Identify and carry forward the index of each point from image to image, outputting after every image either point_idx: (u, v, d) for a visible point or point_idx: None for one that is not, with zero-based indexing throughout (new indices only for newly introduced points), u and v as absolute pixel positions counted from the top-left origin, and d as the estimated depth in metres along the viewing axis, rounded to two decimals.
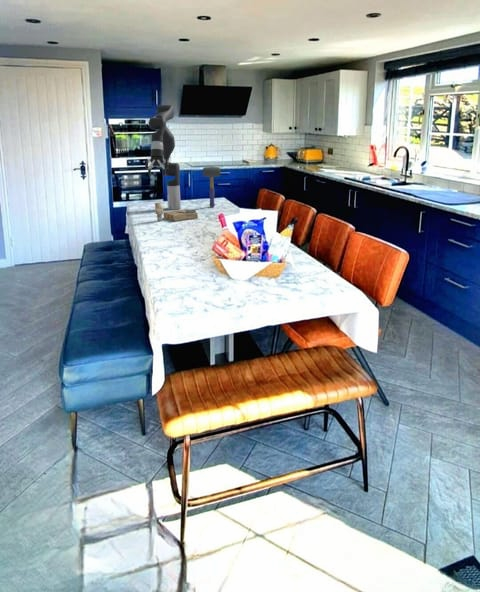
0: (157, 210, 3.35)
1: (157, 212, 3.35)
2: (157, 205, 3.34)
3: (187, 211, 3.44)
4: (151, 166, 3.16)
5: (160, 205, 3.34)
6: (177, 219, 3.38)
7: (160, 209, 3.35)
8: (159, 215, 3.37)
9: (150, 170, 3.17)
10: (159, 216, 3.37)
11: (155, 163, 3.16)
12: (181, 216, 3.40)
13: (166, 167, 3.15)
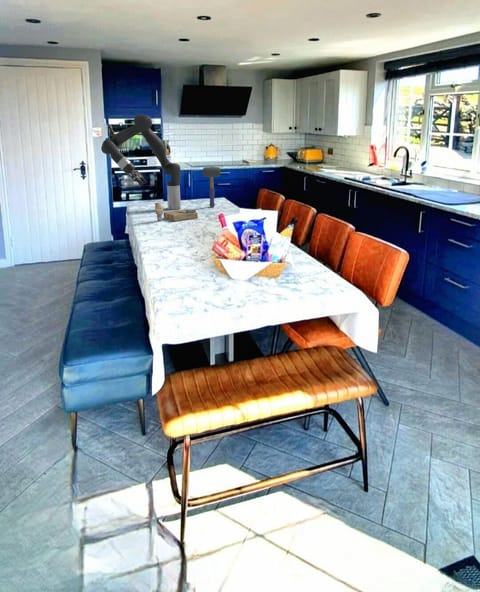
0: (157, 210, 3.35)
1: (157, 212, 3.35)
2: (157, 205, 3.34)
3: (187, 211, 3.44)
4: (138, 178, 3.35)
5: (160, 205, 3.34)
6: (177, 219, 3.38)
7: (160, 209, 3.35)
8: (159, 215, 3.37)
9: (142, 179, 3.36)
10: (159, 216, 3.37)
11: None
12: (181, 216, 3.40)
13: None
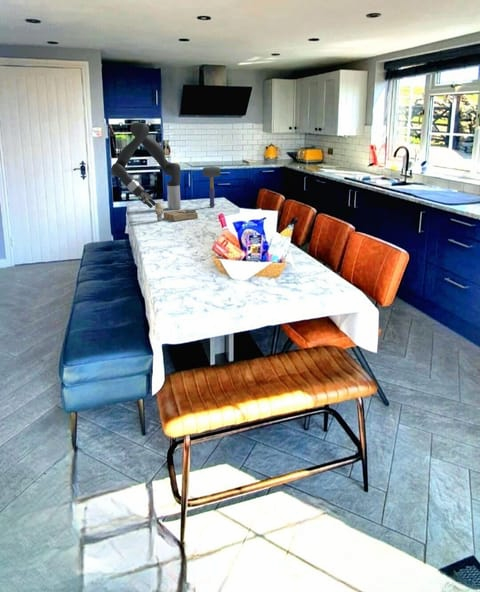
0: (157, 210, 3.35)
1: (157, 212, 3.35)
2: (157, 205, 3.34)
3: (187, 211, 3.44)
4: (147, 200, 3.39)
5: (160, 205, 3.34)
6: (177, 219, 3.38)
7: (160, 209, 3.35)
8: (159, 215, 3.37)
9: (151, 201, 3.40)
10: (159, 216, 3.37)
11: None
12: (181, 216, 3.40)
13: (144, 203, 3.30)
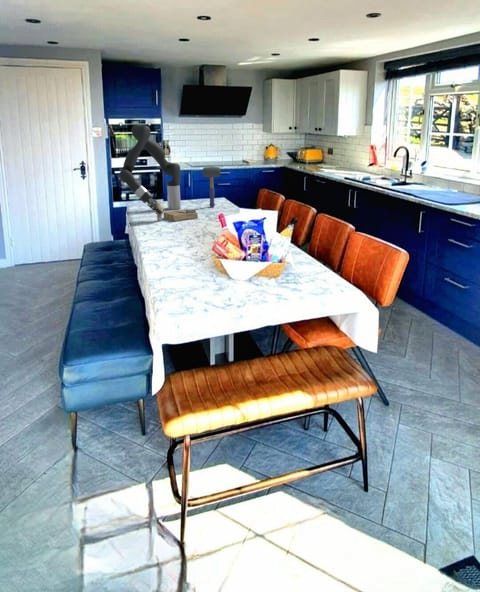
0: None
1: (157, 212, 3.35)
2: (157, 205, 3.34)
3: (187, 211, 3.44)
4: None
5: (160, 205, 3.34)
6: (177, 219, 3.38)
7: (160, 209, 3.35)
8: (159, 215, 3.37)
9: None
10: (159, 216, 3.37)
11: None
12: (181, 216, 3.40)
13: None
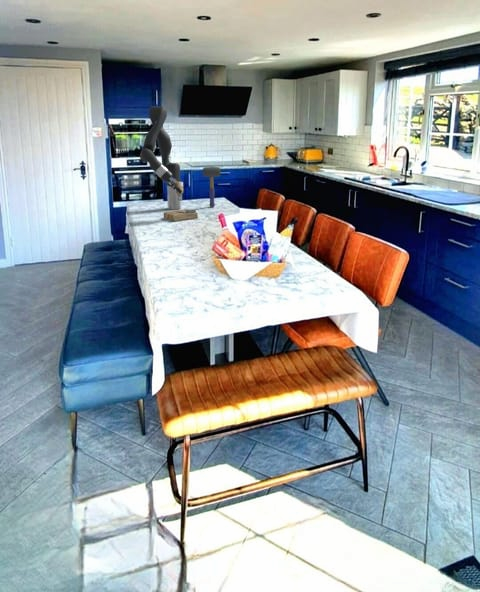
0: None
1: (177, 191, 3.40)
2: (178, 184, 3.38)
3: (187, 211, 3.44)
4: None
5: (180, 184, 3.38)
6: (177, 219, 3.38)
7: (180, 188, 3.39)
8: (179, 194, 3.41)
9: None
10: (179, 195, 3.42)
11: None
12: (181, 216, 3.40)
13: (174, 189, 3.37)
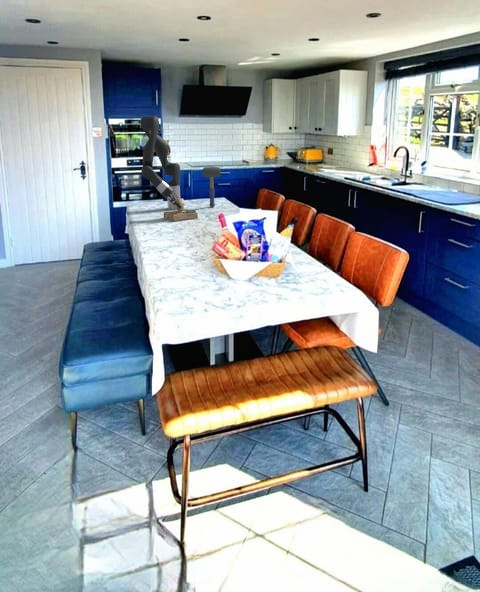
0: None
1: (178, 208, 3.44)
2: (178, 201, 3.42)
3: (187, 211, 3.44)
4: None
5: (181, 201, 3.42)
6: (177, 219, 3.38)
7: (181, 205, 3.43)
8: (180, 211, 3.45)
9: None
10: (180, 212, 3.46)
11: None
12: (181, 216, 3.40)
13: (173, 204, 3.39)
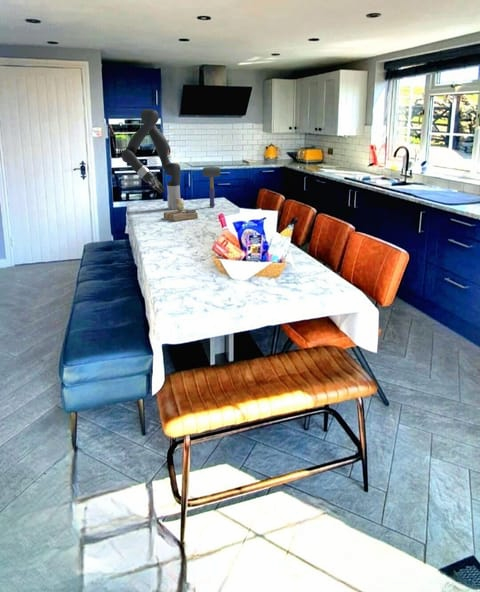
0: (178, 206, 3.43)
1: (178, 208, 3.44)
2: (178, 201, 3.42)
3: (187, 211, 3.44)
4: (157, 186, 3.45)
5: (181, 201, 3.42)
6: (177, 219, 3.38)
7: (181, 205, 3.43)
8: (180, 211, 3.45)
9: (160, 187, 3.46)
10: (180, 212, 3.45)
11: None
12: (181, 216, 3.40)
13: (154, 189, 3.37)
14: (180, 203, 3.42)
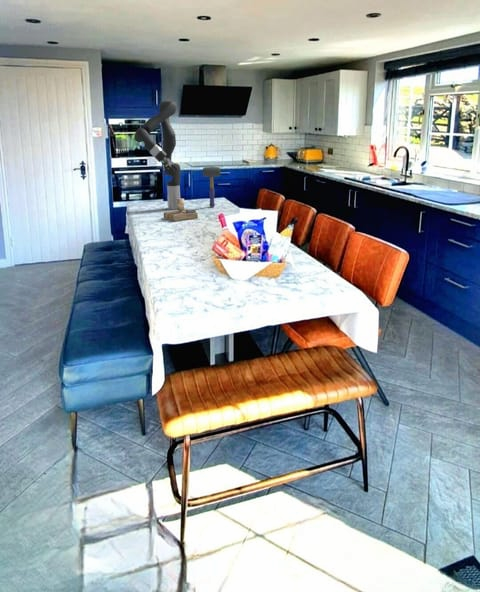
0: (178, 206, 3.43)
1: (178, 208, 3.44)
2: (179, 201, 3.42)
3: (187, 211, 3.44)
4: None
5: (182, 201, 3.42)
6: (177, 219, 3.38)
7: (181, 205, 3.43)
8: (180, 211, 3.45)
9: (173, 167, 3.50)
10: (180, 212, 3.45)
11: None
12: (181, 216, 3.40)
13: (166, 168, 3.40)
14: (181, 203, 3.42)
